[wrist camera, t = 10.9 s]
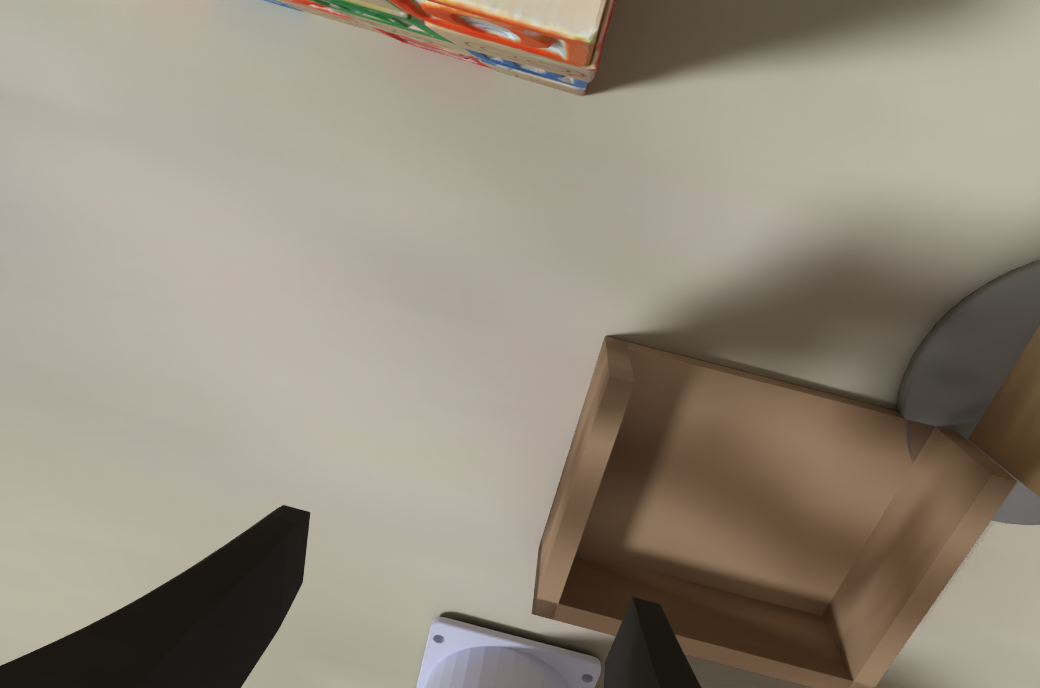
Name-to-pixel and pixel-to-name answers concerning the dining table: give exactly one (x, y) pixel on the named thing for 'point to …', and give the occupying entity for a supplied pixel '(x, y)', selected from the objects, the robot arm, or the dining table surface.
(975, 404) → the slate coaster
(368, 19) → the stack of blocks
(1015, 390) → the oak block
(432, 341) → the dining table surface
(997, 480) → the crate
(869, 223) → the dining table surface
